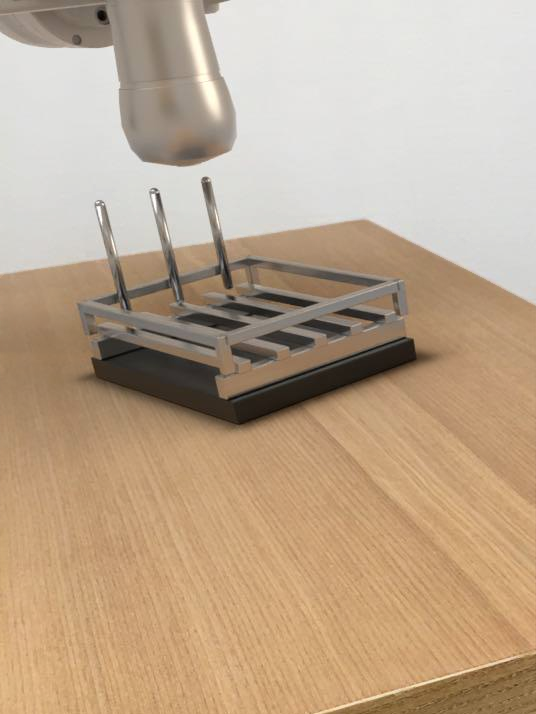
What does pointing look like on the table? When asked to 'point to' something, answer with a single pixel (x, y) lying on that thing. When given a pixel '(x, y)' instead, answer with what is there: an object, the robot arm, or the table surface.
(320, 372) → the dish rack
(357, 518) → the table surface
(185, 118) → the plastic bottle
